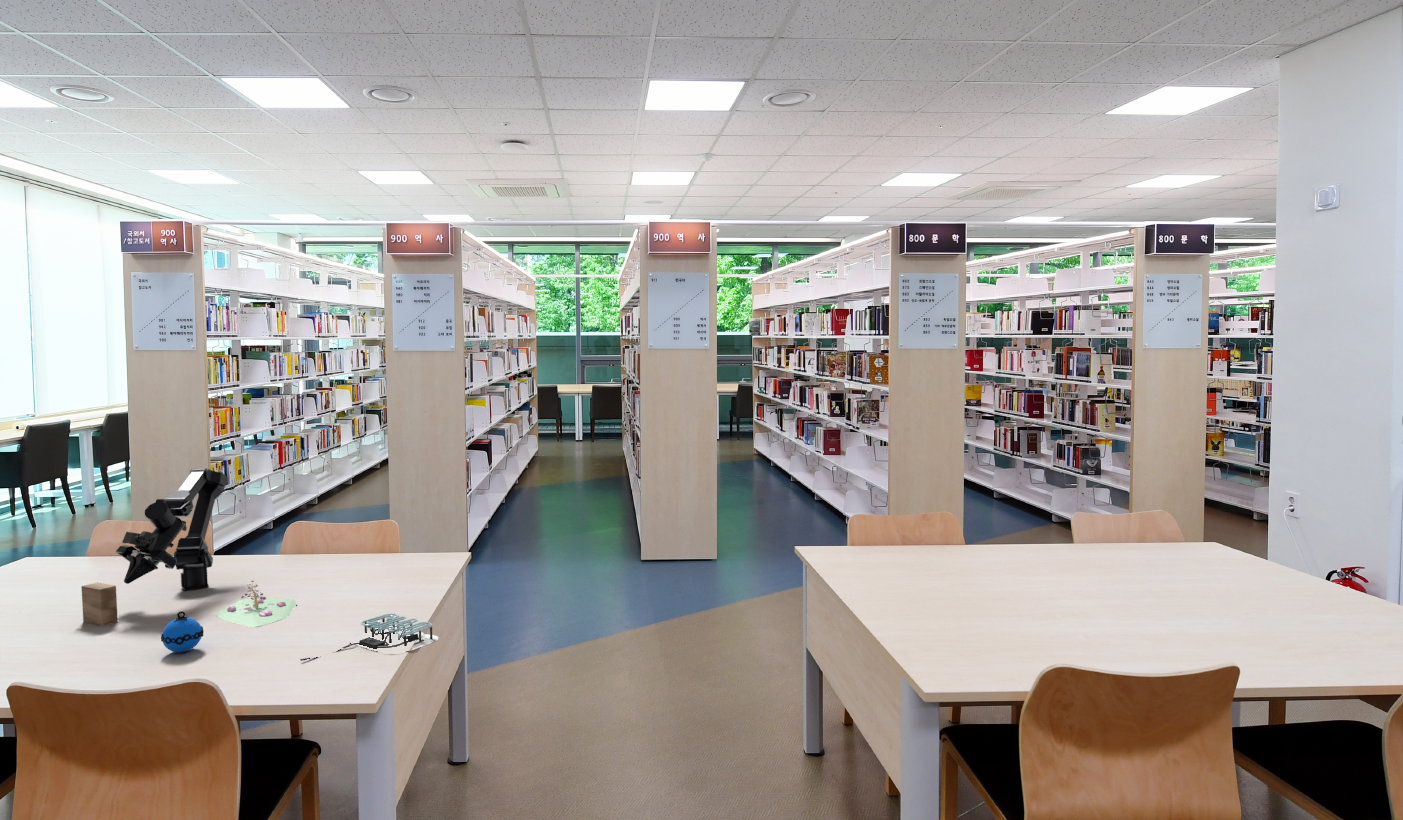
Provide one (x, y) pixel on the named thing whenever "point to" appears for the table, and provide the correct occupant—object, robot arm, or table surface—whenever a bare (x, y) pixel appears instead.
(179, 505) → the robot arm
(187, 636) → the ornament
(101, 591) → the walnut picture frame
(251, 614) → the plant
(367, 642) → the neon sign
